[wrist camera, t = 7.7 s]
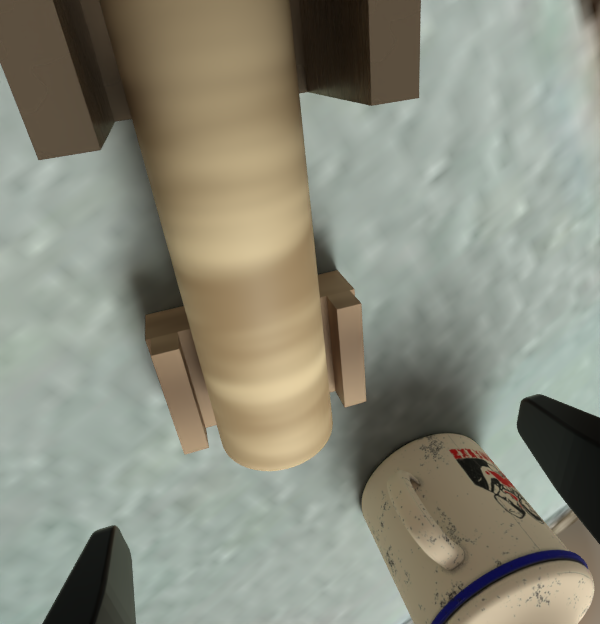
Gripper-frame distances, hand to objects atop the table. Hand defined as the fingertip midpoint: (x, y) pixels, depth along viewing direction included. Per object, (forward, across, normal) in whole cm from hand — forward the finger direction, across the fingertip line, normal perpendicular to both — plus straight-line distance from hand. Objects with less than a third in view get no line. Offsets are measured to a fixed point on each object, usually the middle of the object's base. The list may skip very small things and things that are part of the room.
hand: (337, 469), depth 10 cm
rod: (+9, 0, -3) cm, 10 cm away
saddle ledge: (+11, 0, +4) cm, 12 cm away
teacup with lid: (+11, -8, +16) cm, 21 cm away
